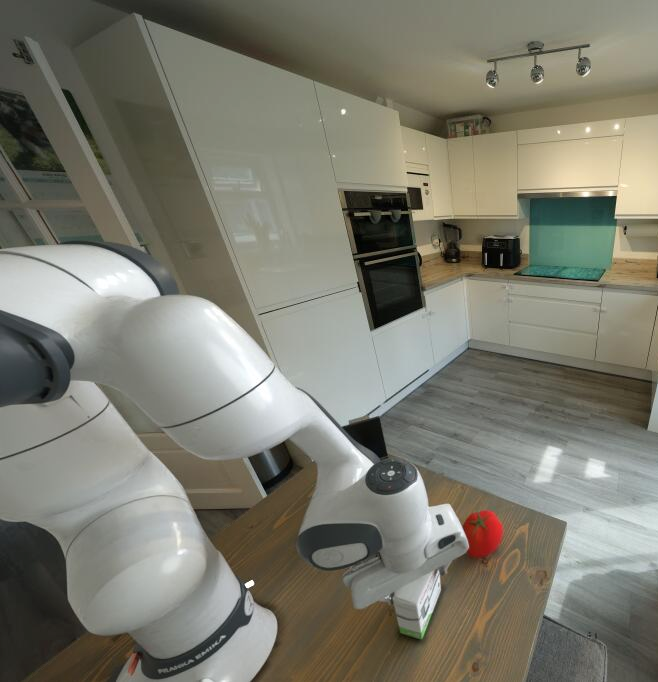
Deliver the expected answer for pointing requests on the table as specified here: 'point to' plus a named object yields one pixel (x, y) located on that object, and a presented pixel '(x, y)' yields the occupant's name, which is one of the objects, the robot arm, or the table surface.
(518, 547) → the table surface
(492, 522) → the tomato
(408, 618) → the ink box
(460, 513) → the table surface
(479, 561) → the table surface
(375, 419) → the bin lid
